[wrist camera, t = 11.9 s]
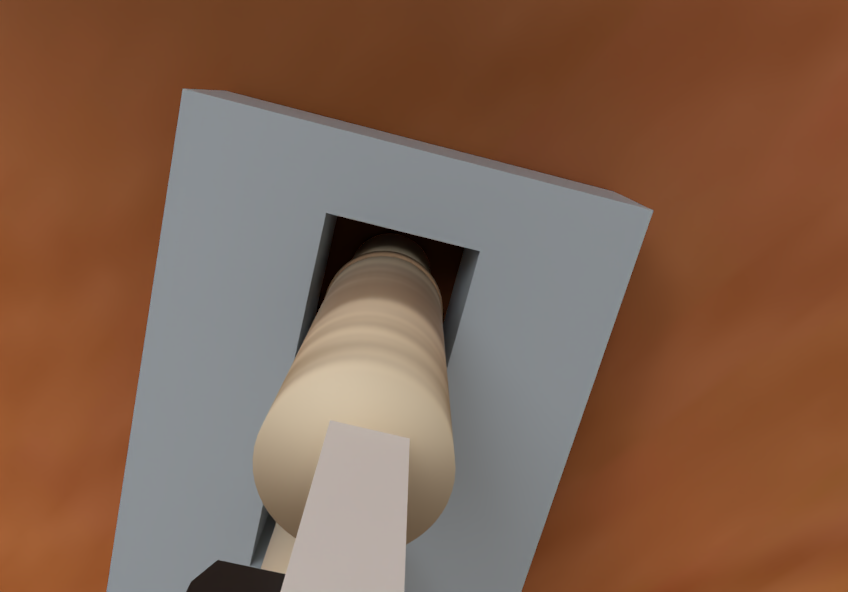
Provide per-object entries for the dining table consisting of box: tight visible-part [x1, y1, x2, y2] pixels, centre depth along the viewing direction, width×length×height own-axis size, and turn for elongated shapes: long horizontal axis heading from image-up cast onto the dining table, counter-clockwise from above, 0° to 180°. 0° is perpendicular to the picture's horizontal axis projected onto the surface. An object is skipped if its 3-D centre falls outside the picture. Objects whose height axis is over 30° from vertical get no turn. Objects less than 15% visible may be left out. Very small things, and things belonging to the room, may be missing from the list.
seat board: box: [107, 89, 653, 592], centre depth 22 cm, size 20×16×16 cm
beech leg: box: [253, 234, 456, 544], centre depth 21 cm, size 4×4×16 cm
